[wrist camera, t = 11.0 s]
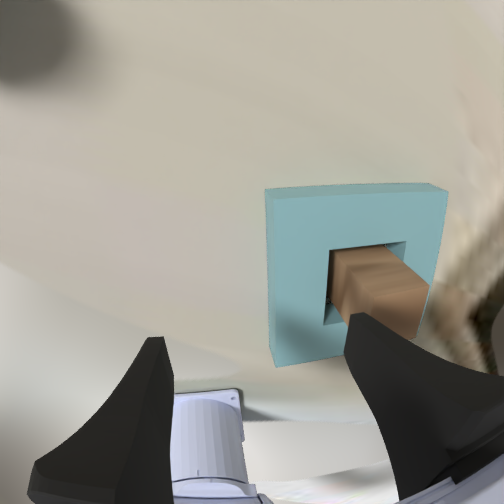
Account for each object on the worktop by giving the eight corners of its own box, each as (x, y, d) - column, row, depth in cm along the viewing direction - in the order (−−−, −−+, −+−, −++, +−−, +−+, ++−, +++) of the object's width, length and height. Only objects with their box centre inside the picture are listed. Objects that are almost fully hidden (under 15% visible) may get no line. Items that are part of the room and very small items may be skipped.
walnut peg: (370, 285, 24) (415, 337, 18) (325, 292, 24) (363, 351, 18) (376, 239, 23) (429, 285, 16) (328, 245, 22) (373, 297, 16)
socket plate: (403, 320, 27) (417, 335, 25) (269, 346, 25) (275, 367, 23) (428, 183, 21) (448, 191, 19) (265, 189, 20) (273, 199, 18)
